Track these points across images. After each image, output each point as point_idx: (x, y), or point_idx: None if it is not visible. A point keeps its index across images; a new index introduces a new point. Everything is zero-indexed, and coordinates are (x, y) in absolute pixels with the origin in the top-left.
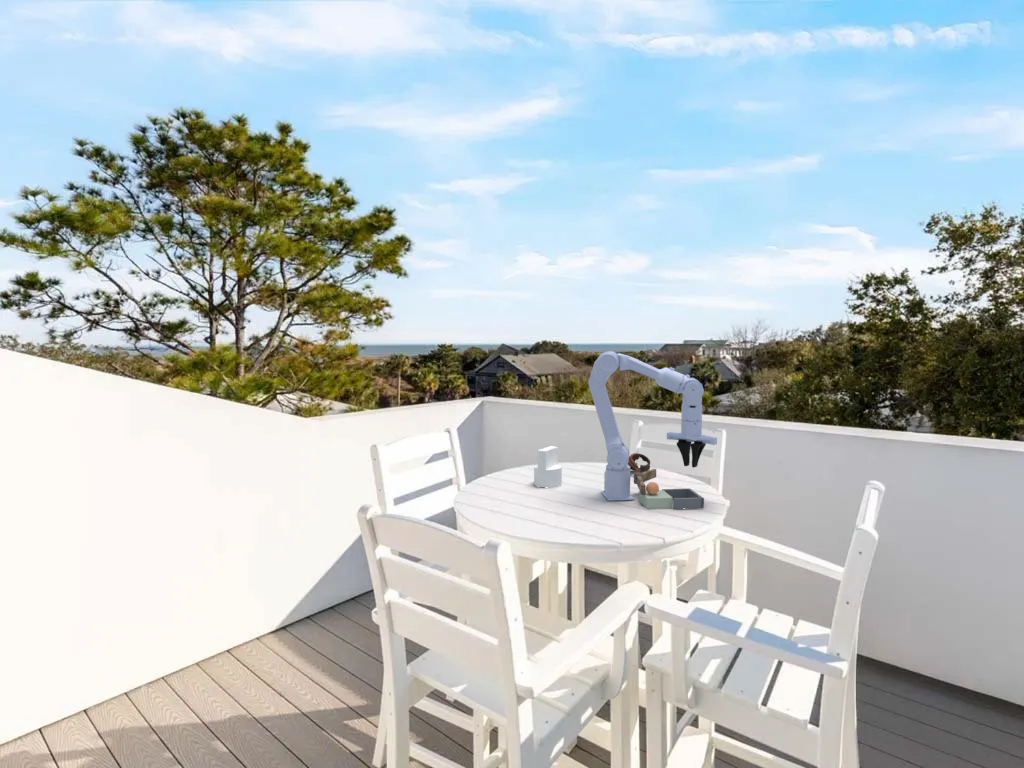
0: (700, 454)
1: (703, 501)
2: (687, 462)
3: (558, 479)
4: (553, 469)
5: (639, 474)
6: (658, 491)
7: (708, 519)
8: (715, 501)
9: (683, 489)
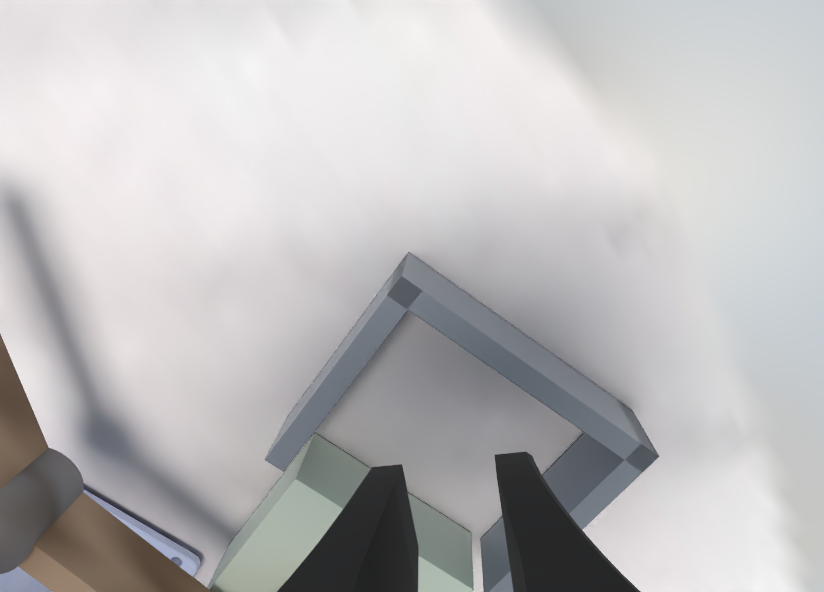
0: (617, 573)
1: (647, 442)
2: (408, 552)
3: None
4: None
5: (13, 558)
6: (294, 528)
7: (759, 571)
8: (608, 171)
9: (381, 343)
